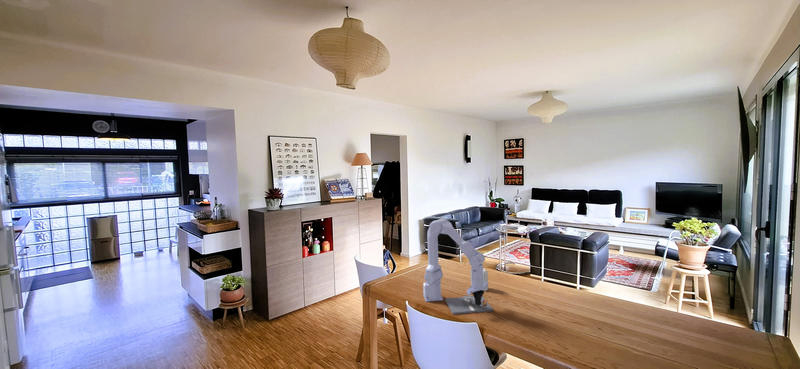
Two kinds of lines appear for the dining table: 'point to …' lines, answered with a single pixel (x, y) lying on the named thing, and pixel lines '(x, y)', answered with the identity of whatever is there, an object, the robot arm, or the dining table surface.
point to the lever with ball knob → (473, 300)
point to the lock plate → (466, 306)
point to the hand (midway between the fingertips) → (477, 304)
